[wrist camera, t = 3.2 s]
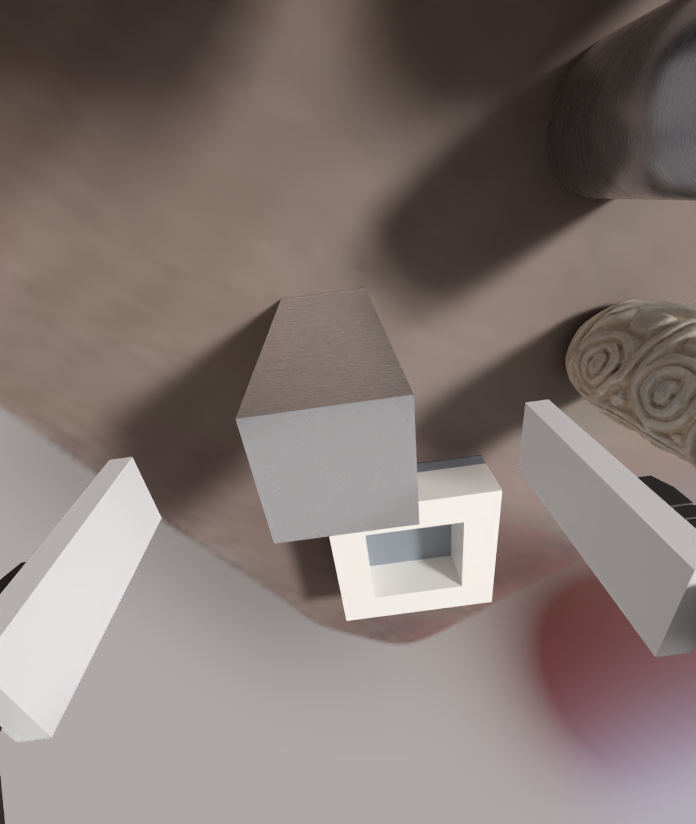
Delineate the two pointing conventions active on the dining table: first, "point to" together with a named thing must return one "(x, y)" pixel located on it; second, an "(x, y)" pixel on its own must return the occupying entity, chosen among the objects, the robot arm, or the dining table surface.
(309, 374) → the square peg
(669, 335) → the carving
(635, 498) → the robot arm
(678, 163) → the round bit
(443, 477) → the bore block
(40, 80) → the dining table surface
